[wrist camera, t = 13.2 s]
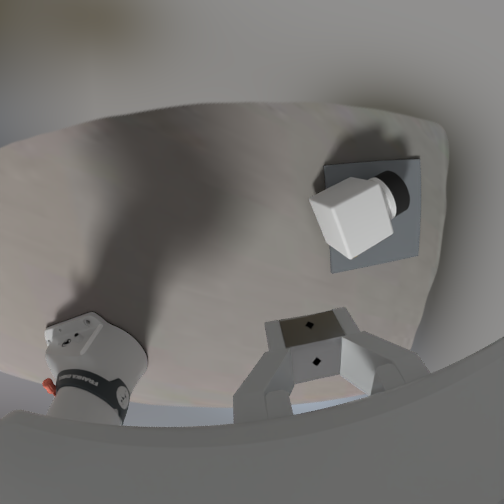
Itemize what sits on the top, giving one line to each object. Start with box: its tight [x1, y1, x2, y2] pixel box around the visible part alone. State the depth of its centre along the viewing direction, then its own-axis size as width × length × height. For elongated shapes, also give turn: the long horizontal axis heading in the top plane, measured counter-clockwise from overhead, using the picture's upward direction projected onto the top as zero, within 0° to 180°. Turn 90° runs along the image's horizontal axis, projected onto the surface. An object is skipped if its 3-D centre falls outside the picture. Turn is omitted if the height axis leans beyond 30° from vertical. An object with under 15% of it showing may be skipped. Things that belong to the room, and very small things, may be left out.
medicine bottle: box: [309, 170, 410, 259], centre depth 35 cm, size 7×7×12 cm
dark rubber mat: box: [323, 159, 421, 273], centre depth 39 cm, size 16×16×1 cm
